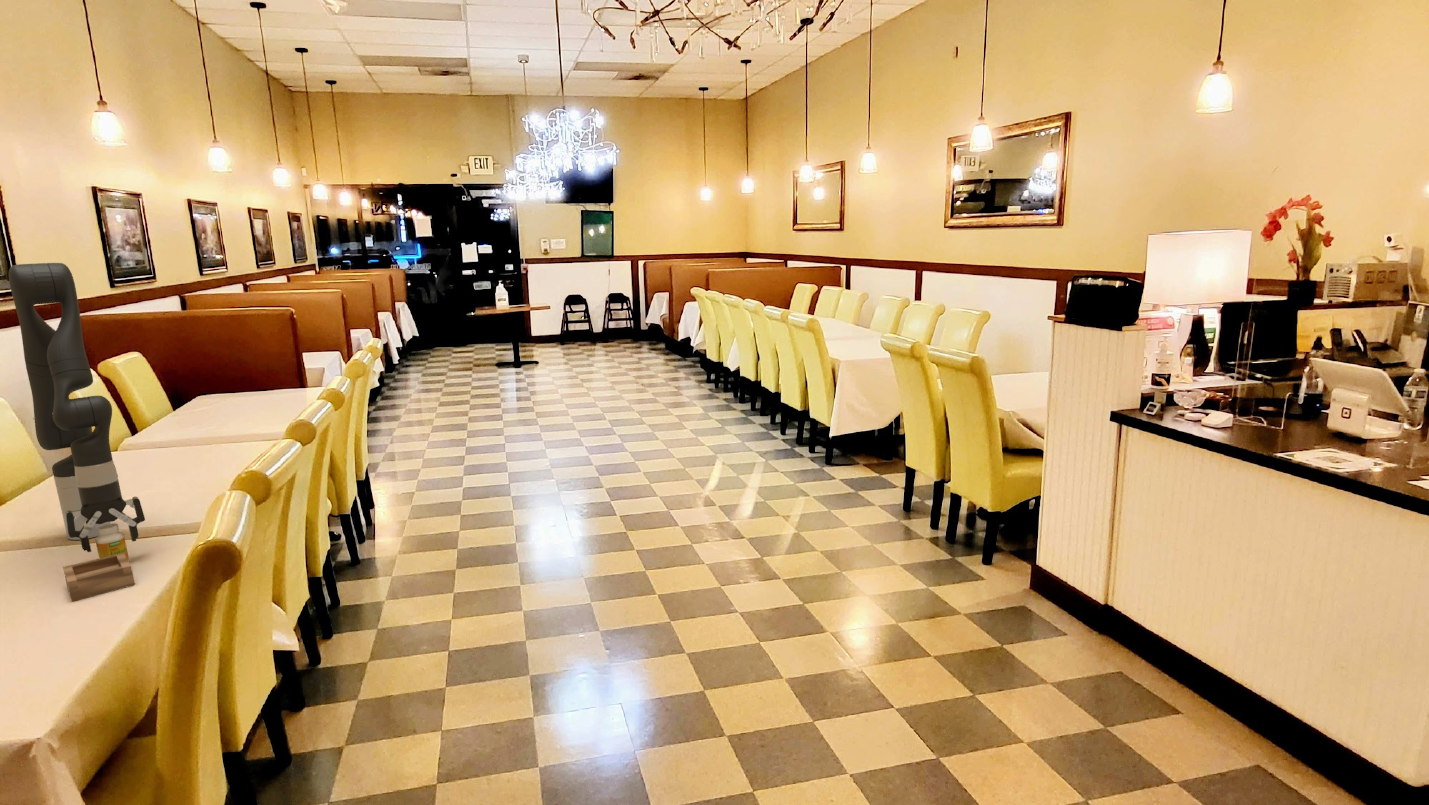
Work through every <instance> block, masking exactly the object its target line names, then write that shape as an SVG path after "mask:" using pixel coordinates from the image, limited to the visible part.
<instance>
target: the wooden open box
mask: <svg viewBox="0 0 1429 805" xmlns="http://www.w3.org/2000/svg"><path fill="white" fill-rule="evenodd" d="M129 561H130V560H129ZM129 561H128V560H127V558H126V556H125V554H124V552H123V553H119V554H115V555H111V556H107V557H103V558H99V557H98V558H96V559H91V560H87V561H83V562H79V563H75V564H71V565H68V566H67V565H66V566H62V569H63V574H64V578H65V583H66V586H67V590H68V593H69V597H70V600H71V602H75V601H80V600H83V599H86V598H90V597H94V596H98V595H101V594H105V592H106V593H109V592H112V590H113V591H116V590H115V589H117V590H120V588H121V589H124V588H127V587H126V586H128V587H130V586H131V585H132V586H134V585H133V584H136V583H135V579H134V574H133V569H132V565H131V563H130V562H129ZM132 586H131V587H132ZM123 587H124V588H123ZM108 591H109V592H108Z"/></svg>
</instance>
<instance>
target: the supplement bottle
mask: <svg viewBox="0 0 1429 805" xmlns="http://www.w3.org/2000/svg"><path fill="white" fill-rule="evenodd" d="M97 532H98V534H99V535H100V536H96V539H95V545H96V548H97V555H98V559H99V558H103V557H107V556H111V555H115V554H119V553H123V552H124V554H125V556H126V558H127V560H128V561H130V559H129V553H128V552H129V551H128V548H127V542H126V537H125V534H124V533H123V532H122V531H120V527H119V524H118V523H116V522H113V523H112V522H111V524H106V525H102V526H100V527H98V528H97Z"/></svg>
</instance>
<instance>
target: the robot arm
mask: <svg viewBox="0 0 1429 805" xmlns="http://www.w3.org/2000/svg"><path fill="white" fill-rule="evenodd" d="M8 283H9V286H10V290H11V295H12V299H13V304H14V307H15V311H16V314H17V318H18V322H19V326H20V334H21V340H22V348H23V349H22V350H23V356H24V361H25V362H24V363H25V369H26V374H27V378H28V381H29V382H28V383H29V386H30V391H31V395H32V396H31V397H32V406H33V415H34V416H33V417H34V418H33V419H34V428H35V435H36V438H37V442H38V445H39V446H40V447H41V448H42V449H43V450H45V451H57V450H61V449H62V450H63V449H68V448H70V452H71V454H70V455H69V456H67V457H65V458H63V459H61V460H58V461H57V462H55V463H54V464H52V468H51V471H52V475H53V478H54V484H55V487H56V493H57V496H58V500H59V501H58V502H59V505H60V511H61V514H62V519H63V523H64V528H65V532H66V536H67V539H68V540H73V541H80V543H81V548H82V550H83V551H86V552H87V553H91V552H92V549H91V544H90V539H92V538H95V537H96V538H97V537H98V536H100V535H99V534H98V532H97V528H98V527H100V526H102V525H106V524H112V522H115V521H116V520H118V519H119V520H121V522H123V523H126V524H127V525H128V529H129V535H130V539H131V541H132V542H136V541H137V539H138V538H139V530H138V524H140V523H142V522H144V521H146V518H145V514H144V511H143V507H142V504H141V501H140V499H139V496H138V497H137V496H133V497H132V498H130V499H124V498H123V496H122V491H121V487H120V483H119V481H120V480H119V475H118V472H117V469H116V468H117V467H116V465H115V462H114V459H113V455H112V450H111V445H110V429H111V423H112V417H113V406H112V403H111V402H110V401H109V400H108V399H107V398H106V397H105V396H103V395H90V396H83V397H76V398H70V395H71V394H73V393H74V392H76V391H79V390H83V389H85V388H86V389H87V388H88V387H90V386H92V384H93V383H94V377H93V374H92V373H93V372H92V370H91V367H90V364H89V359H88V356H87V352H86V349H85V343H84V337H83V328H82V320H81V314H80V313H81V312H80V306H79V300H78V294H77V289H76V284H75V281H74V276H73V274H72V271H71V270H70V268H69V267H68V265H67V264H65V263H62V262H47V263H46V262H42V263H38V262H37V263H21V264H14V265H11V267H9V270H8ZM48 304H60V305H61V316H60V321H59V324H58V325H57V328H56V330H55V329H54V328H53V327H51V326H50V324H48V323H47V322H46V321H45V320H44V319H43V318H42V316H41V315H40V314H39V313H38V311H37V310H36V309H35V306H36V305H48ZM93 427H94V429H93ZM127 506H129V507H130V508H132V509H134V511H135V515H136V517H133V518H132V517H131V516H129V515H127V514H126V513H125V512H124V510H125V508H126V507H127Z"/></svg>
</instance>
